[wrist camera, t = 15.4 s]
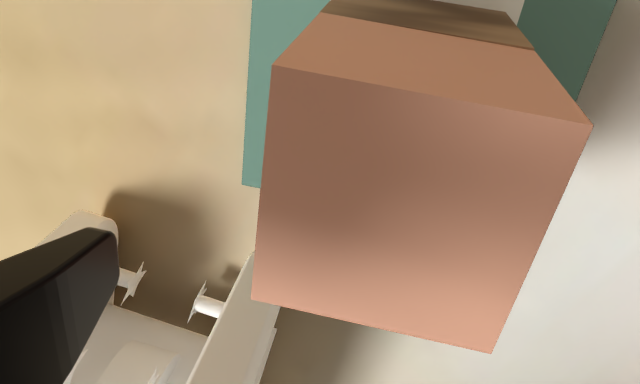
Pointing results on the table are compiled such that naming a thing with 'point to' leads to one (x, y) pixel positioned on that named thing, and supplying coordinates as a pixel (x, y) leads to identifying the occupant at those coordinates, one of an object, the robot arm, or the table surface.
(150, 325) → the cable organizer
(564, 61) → the green flat square panel
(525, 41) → the walnut block
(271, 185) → the terracotta block
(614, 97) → the table surface
